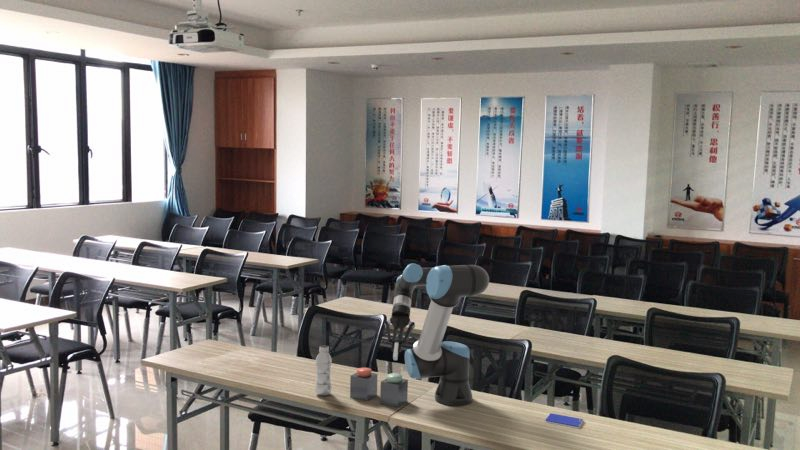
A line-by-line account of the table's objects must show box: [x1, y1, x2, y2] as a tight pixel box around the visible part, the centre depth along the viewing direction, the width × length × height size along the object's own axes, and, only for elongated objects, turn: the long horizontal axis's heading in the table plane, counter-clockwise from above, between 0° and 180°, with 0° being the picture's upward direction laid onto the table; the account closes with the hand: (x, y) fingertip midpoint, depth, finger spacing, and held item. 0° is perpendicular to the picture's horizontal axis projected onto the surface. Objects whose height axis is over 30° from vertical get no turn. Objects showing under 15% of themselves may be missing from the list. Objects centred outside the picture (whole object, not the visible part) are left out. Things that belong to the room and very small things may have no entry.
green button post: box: [379, 377, 409, 408], centre depth 274 cm, size 8×8×9 cm
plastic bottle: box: [315, 345, 333, 396], centre depth 280 cm, size 6×7×20 cm
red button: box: [356, 367, 373, 377], centre depth 280 cm, size 6×6×10 cm
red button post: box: [349, 372, 378, 402], centre depth 280 cm, size 8×8×9 cm
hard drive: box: [544, 412, 584, 429], centre depth 259 cm, size 2×8×12 cm
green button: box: [386, 372, 403, 383], centre depth 274 cm, size 6×6×10 cm
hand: (395, 358), depth 272 cm, fingers closed
